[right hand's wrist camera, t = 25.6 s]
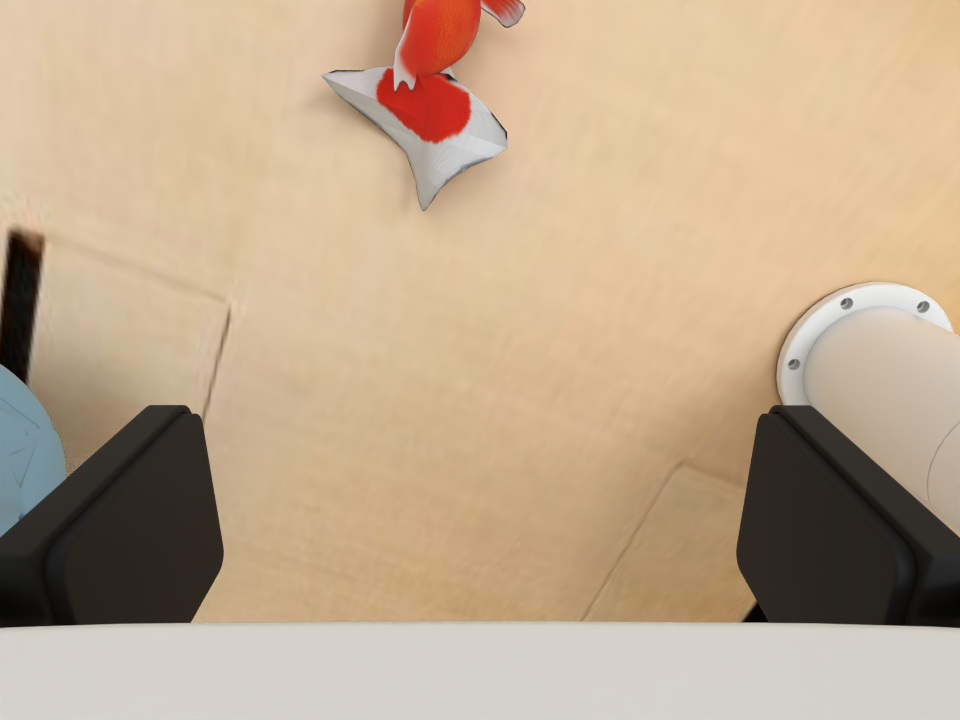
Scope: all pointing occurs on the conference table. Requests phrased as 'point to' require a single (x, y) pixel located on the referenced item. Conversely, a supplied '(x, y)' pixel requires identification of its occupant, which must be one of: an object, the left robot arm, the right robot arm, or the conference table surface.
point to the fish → (431, 92)
